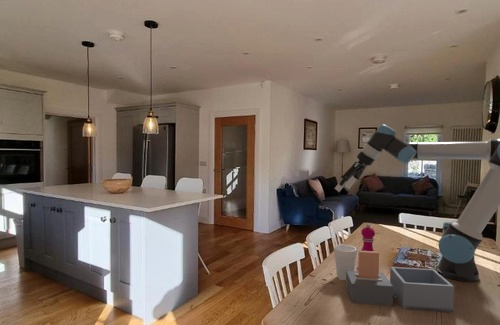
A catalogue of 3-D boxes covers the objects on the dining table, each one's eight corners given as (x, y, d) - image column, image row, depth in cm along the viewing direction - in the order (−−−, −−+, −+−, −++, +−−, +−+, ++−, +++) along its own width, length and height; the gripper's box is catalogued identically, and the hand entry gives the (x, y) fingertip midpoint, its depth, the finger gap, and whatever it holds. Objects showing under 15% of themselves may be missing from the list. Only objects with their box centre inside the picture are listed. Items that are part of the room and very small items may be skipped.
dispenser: (382, 290, 118) (383, 271, 118) (392, 305, 106) (393, 284, 106) (346, 287, 120) (346, 269, 120) (351, 302, 108) (351, 282, 108)
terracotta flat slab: (377, 290, 113) (377, 251, 113) (378, 292, 112) (379, 252, 111) (357, 289, 115) (358, 250, 114) (358, 291, 113) (359, 251, 112)
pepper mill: (377, 269, 140) (377, 226, 139) (360, 267, 141) (361, 225, 140) (374, 263, 147) (374, 222, 146) (358, 262, 148) (359, 222, 147)
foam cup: (338, 271, 137) (339, 243, 136) (359, 276, 131) (359, 247, 130) (329, 278, 129) (330, 248, 129) (351, 284, 123) (351, 253, 123)
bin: (433, 292, 117) (434, 269, 116) (453, 312, 102) (454, 286, 102) (389, 289, 119) (390, 266, 119) (403, 308, 104) (403, 283, 104)
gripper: (369, 150, 154) (345, 182, 162) (353, 149, 134) (326, 186, 142) (381, 158, 150) (356, 191, 158) (367, 160, 130) (338, 196, 139)
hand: (342, 188), depth 150 cm, fingers open, 13 cm apart
